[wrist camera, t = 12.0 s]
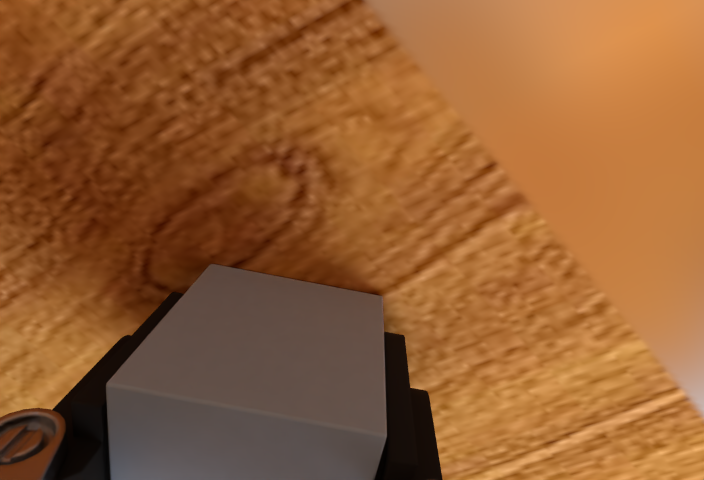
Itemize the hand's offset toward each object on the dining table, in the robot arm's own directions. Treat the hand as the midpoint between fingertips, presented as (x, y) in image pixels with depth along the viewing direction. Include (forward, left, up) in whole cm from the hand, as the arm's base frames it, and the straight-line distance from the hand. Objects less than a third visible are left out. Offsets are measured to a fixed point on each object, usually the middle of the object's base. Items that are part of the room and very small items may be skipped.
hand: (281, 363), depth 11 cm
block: (0, 0, -1) cm, 1 cm away
